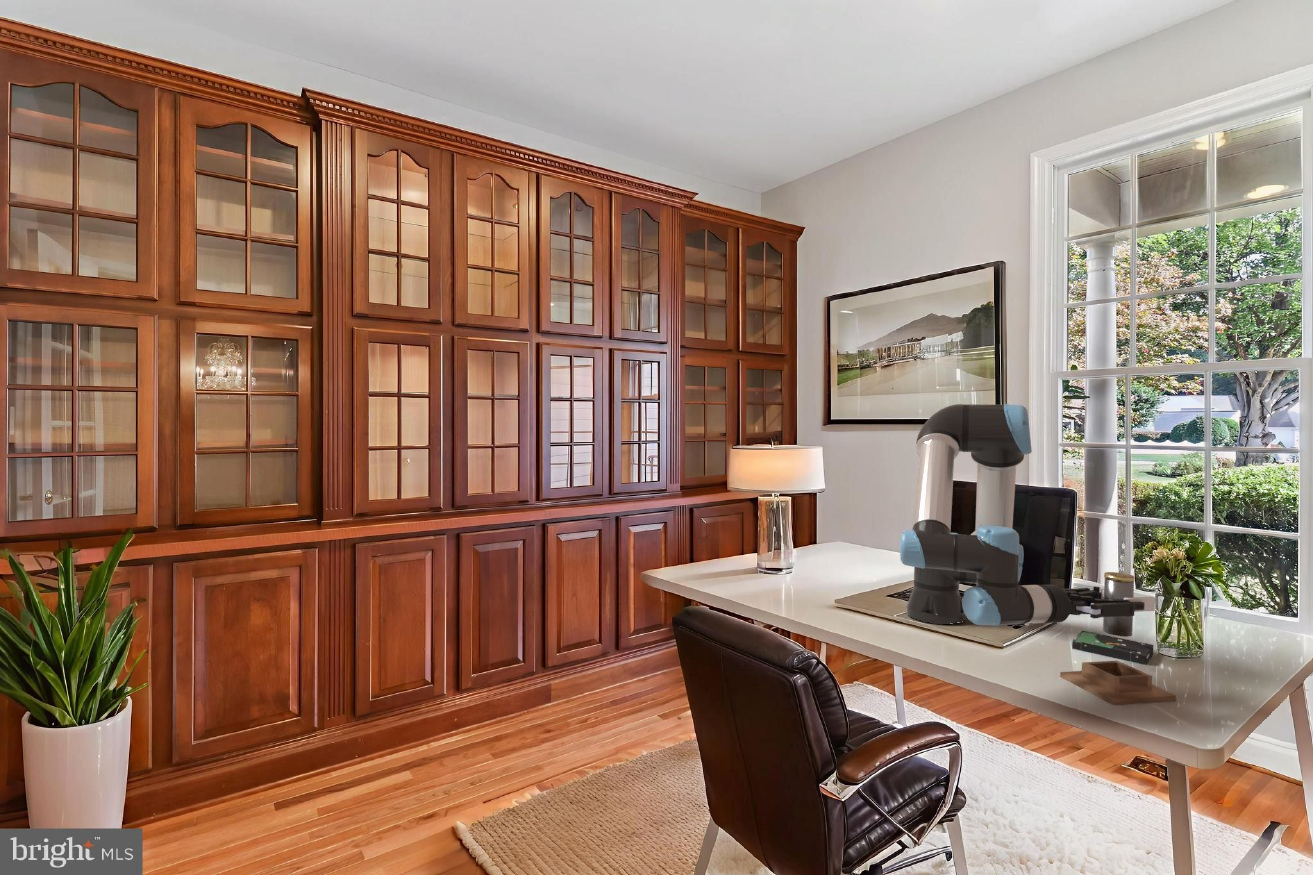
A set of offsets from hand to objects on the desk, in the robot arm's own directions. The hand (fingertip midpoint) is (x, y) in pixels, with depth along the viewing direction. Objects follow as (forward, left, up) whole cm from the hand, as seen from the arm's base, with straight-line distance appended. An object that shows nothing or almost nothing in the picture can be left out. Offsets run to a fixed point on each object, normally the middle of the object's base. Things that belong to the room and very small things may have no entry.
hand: (1140, 600), depth 139 cm
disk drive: (-20, +12, -19) cm, 30 cm away
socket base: (0, -5, -18) cm, 19 cm away
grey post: (0, -5, -7) cm, 8 cm away
